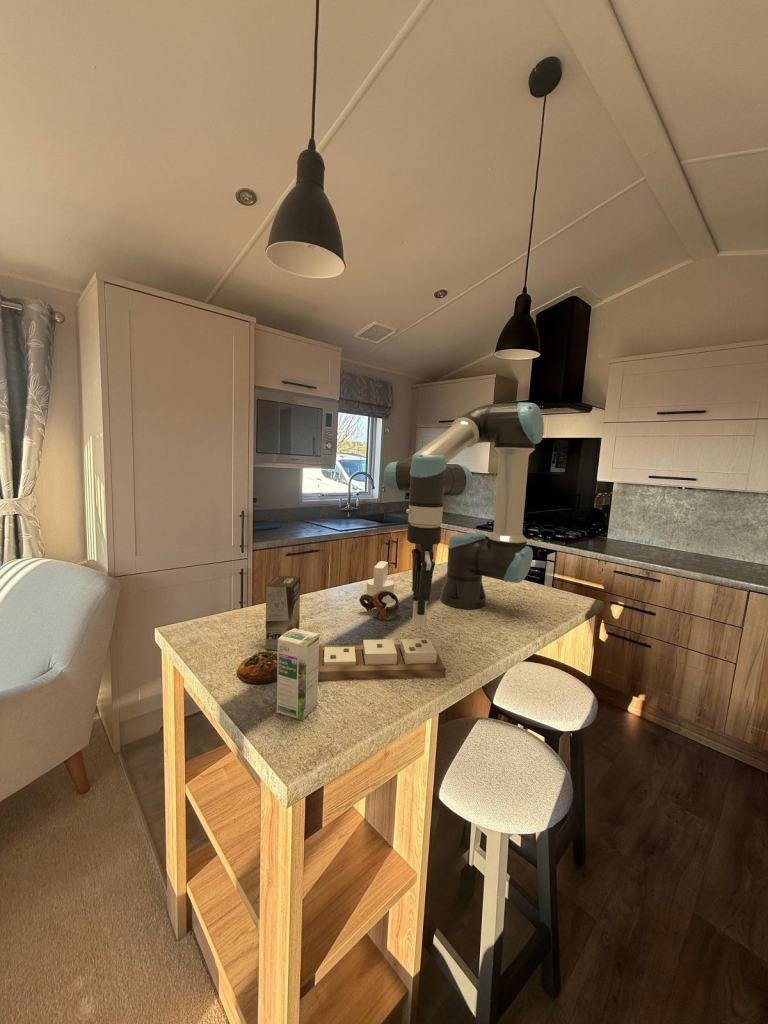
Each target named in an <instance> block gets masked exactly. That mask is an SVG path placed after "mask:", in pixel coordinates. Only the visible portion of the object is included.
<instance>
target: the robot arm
mask: <svg viewBox="0 0 768 1024" xmlns="http://www.w3.org/2000/svg"><path fill="white" fill-rule="evenodd" d="M544 424H545V423H544V417H543V414H542V411H541V408H540V407H539V406H538V405H537V404H536V403H535V402H534V403H533V402H523V401H522V402H521V401H520V402H509V403H508V402H507V403H495V404H494V403H489V404H484V405H479V406H477V407H475V408H473V409H471V410H469V411H467V412H465V413H463V414H462V415H460V416H458V418H456V419H455V420H454V421H452V423H451V426H450V427H449V428H447V430H445V431H444V432H443V433H441V434H440V435H438V436H437V437H435V439H434V438H433V440H432V441H430V442H429V443H427V444H426V445H425V446H423V447H422V448H421V449H419V450H418V451H417V452H415V453H414V454H412V455H411V456H410V457H408V458H407V459H405V460H404V461H400V460H397V461H391V462H389V463H388V464H387V465H386V466H385V468H384V471H383V480H384V483H385V486H386V487H387V488H388V489H390V490H392V491H398V492H400V493H402V492H405V493H409V500H408V508H407V509H406V510H405V513H406V514H408V516H407V517H408V519H407V522H408V523H409V524H408V525H407V532H406V540H407V542H408V543H411V544H414V548H413V549H411V554H412V555H411V556H412V571H411V572H412V573H411V574H412V578H411V581H412V582H411V583H412V585H411V591H412V592H413V593H412V595H413V596H412V601H413V608H412V621H411V622H412V623H411V625H412V627H413V628H418V629H419V628H423V629H424V628H426V622H427V621H426V620H427V619H426V617H427V604H428V602H429V601H430V599H431V591H432V590H431V589H432V585H433V584H432V583H433V576H434V570H435V566H436V562H435V561H433V560H434V552H433V551H432V549H433V548H432V546H434V545H439V544H440V543H441V541H442V540H441V539H442V527H441V526H440V525H442V524H443V513H444V497H459V496H463V495H465V494H467V493H469V491H470V490H472V489H471V488H472V486H473V483H474V477H473V473H472V472H471V470H470V469H469V468H468V467H467V466H465V465H463V464H462V465H461V464H458V463H457V464H456V463H455V464H448V463H449V462H450V461H451V460H453V459H454V458H455V457H456V456H457V455H459V454H460V453H462V452H463V450H465V449H466V448H472V447H473V446H475V445H476V444H480V443H494V450H495V451H496V452H497V453H498V463H497V464H498V466H497V476H496V477H497V478H496V489H495V490H496V492H495V493H496V494H495V503H494V504H495V505H494V518H493V519H494V521H493V531H492V532H491V533H489V535H488V536H487V537H486V535H485V534H484V533H480V532H467V533H465V532H464V533H458V534H457V533H456V534H453V535H452V536H450V538H449V540H448V547H447V565H446V566H447V567H446V571H447V572H446V579H445V581H444V583H443V585H442V588H441V590H440V596H439V597H440V599H439V600H440V602H441V603H443V604H445V605H446V606H449V607H452V608H457V609H464V610H474V609H479V608H483V607H485V606H486V604H487V603H486V601H487V596H486V592H485V591H486V590H485V589H484V588H485V587H484V584H483V577H487V578H491V579H495V580H499V581H504V582H506V583H507V582H508V583H514V584H518V583H521V582H522V581H524V579H525V578H526V577H527V575H528V574H529V571H530V569H531V566H532V563H533V557H534V553H533V548H532V547H530V546H529V545H527V542H528V539H527V538H526V536H525V535H524V534H523V529H524V515H525V504H526V492H527V480H528V471H529V470H528V468H529V467H528V466H529V456H530V455H531V453H533V452H534V451H535V450H536V444H539V443H541V442H542V440H543V436H544V431H545V427H544V426H545V425H544Z"/></svg>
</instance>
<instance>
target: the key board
mask: <svg viewBox="0 0 768 1024" xmlns="http://www.w3.org/2000/svg"><path fill="white" fill-rule="evenodd" d="M394 645H395V649H396V652H397V664H374V665H365V662H364V654H363V644H347V645H344V644H342V645H337V644H336V645H334V644H333V645H319V666H318V682H319V681H348V680H349V681H351V680H357V681H358V680H390V679H391V680H392V679H426V678H427V679H429V678H446V667H445V665H444V663H443V661H442V659H441V657H440V655H439V653H438V651H437V649H436V647H435V646H434V644H433V646H434V648H435V650H436V652H437V657H436V663H420V664H405V661H404V658H403V655H402V652H401V649H400V648H401V643H400V644H394ZM325 647H355V656H356V666H324V648H325Z"/></svg>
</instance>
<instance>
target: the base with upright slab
mask: <svg viewBox="0 0 768 1024" xmlns="http://www.w3.org/2000/svg"><path fill="white" fill-rule="evenodd" d="M388 573H389V561H383V560H381V561H380V560H379V561H378V562H377V563H376V564H375V566H374V567H373V578H370V579H368V580H367V581H366V594H368V595H370V596H373V595H375V594H377V593H378V592H379V591H383V590H385V591H389V592H392V593H393V594H395V593H394V591H395V590H394V589H395V581H393V580H391V579H389V578H388V576H389V575H388ZM382 601H383V602H385V603H387V605H388V604H391V603H393V602H394V599H392V598H391V597H390V596H389V595H388V596H386V597H383V599H382Z"/></svg>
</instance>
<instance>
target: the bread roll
mask: <svg viewBox="0 0 768 1024" xmlns="http://www.w3.org/2000/svg"><path fill="white" fill-rule="evenodd" d="M277 653H278V651H277V652H276V651H274V650H272V651H270V650H264V651H258V652H257V653H254V654H252V655H251V656H249V657H246V658H245V659H244V660H243V661H242V662H241V663H240V664H239V665H238V667H237V669H236V673H237V675H238V677H239V678H240V679H241V680H242V681H244V682H245V683H249V684H259V685H261V684H269V683H273V682H277Z"/></svg>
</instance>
